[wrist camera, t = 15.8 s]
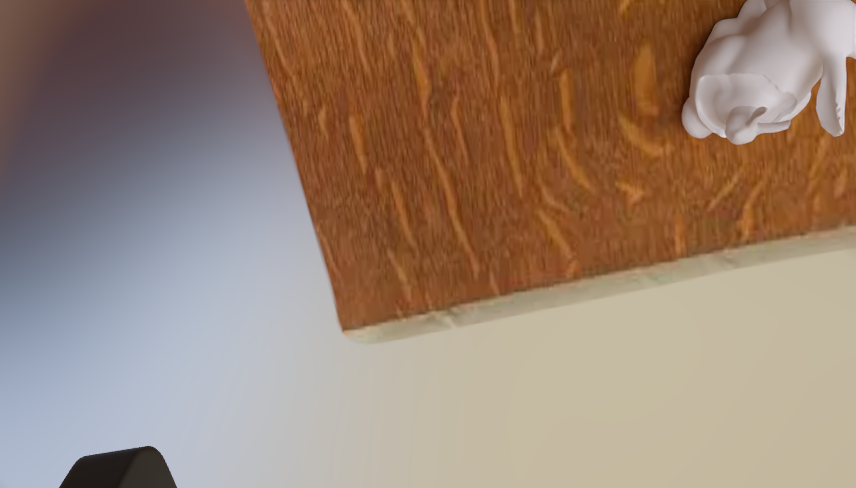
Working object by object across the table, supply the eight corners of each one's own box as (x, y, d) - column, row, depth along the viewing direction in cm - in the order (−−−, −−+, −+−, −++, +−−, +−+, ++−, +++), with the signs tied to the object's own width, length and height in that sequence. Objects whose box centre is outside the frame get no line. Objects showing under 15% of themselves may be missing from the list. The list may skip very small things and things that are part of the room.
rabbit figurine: (798, -81, 44) (886, -66, 35) (894, 5, 46) (1001, 39, 37) (645, 97, 48) (690, 150, 39) (738, 169, 50) (801, 235, 41)
